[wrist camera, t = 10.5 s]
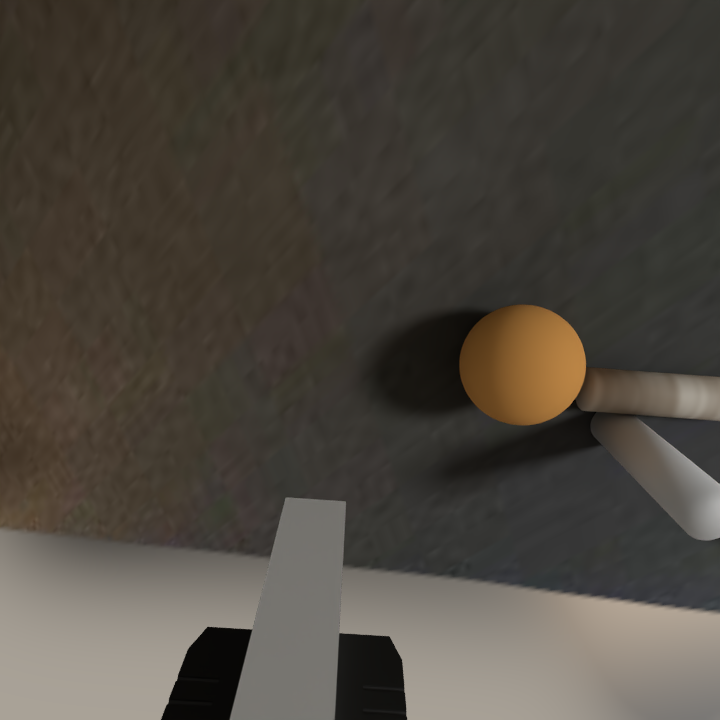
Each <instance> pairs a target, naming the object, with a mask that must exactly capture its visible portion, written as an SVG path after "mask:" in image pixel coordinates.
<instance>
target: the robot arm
mask: <svg viewBox="0 0 720 720" xmlns="http://www.w3.org/2000/svg"><path fill="white" fill-rule="evenodd" d="M345 511H346V501H331V500H316V499H301V498H286V499H285V503H284V507H283V510H282V514H281V518H280V522H279V526H278V530H277V534H276V538H275V542H274V546H273V550H272V554H271V558H270V562H269V566H268V570H267V574H266V578H265V582H264V586H263V590H262V594H261V598H260V602H259V606H258V609H257V613H256V618H255V621H254V625H253V629H252V630H250V629H233V628H217V627H207V628H206V629H205V630H204V632H203V633H202V634H201V635H200V636H199V637H198V639H197V640H196V641H195V642H194V643H193V644H192V645H191V646H190V647H189V649H188V651H187V654H186V656H185V659H184V661H183V664H182V667H181V669H180V672H179V674H178V679H177V681H176V682H175V685H174V687H173V690H172V692H171V695H170V698H169V703H168V705H167V706H166V708H165V711H164V713H163V716H162V719H161V720H407V717H406V701H405V693H404V679H403V666H402V659H401V657H400V655H399V654H398V652H397V650H396V648H395V646H394V644H393V642H392V640H391V639H390V637H389V636H373V635H357V634H342V633H339V627H340V625H339V624H340V607H341V587H342V569H343V550H344V531H345Z"/></svg>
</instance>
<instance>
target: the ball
mask: <svg viewBox="0 0 720 720" xmlns="http://www.w3.org/2000/svg"><path fill="white" fill-rule="evenodd" d="M459 369H460V376H461V380H462V383H463V386H464V388H465V391H466V393H467V394H468V396H469V397H470V399H471V400H472V402H473V403H474V404H475V405H476V406H477V407H478V408H479V409H480V410H481V411H483V412H484V413H485V414H487V415H488V416H490V417H492V418H494V419H496V420H498V421H501V422H504V423H508V424H513V425H532V424H538V423H542V422H544V421H547V420H550V419H552V418H554V417H555V416H557V415H559V414H560V413H562V412H563V411H564V410H565V409H566V408H568V407H569V406H570V404H571V403H572V402H573V401H574V400H575V398H576V397H577V395H578V393H579V392H580V389H581V387H582V385H583V382H584V378H585V372H586V358H585V353H584V349H583V345H582V343H581V341H580V339H579V337H578V335H577V333H576V332H575V331H574V329H573V328H572V327H571V326H570V325H569V324H568V322H566V321H565V320H564V319H563V318H561V317H560V316H559V315H557V314H555V313H554V312H552V311H550V310H547V309H545V308H542V307H538V306H533V305H512V306H507V307H503V308H500V309H498V310H495V311H493V312H491V313H489V314H488V315H486V316H485V317H483V318H482V319H481V320H480V321H479V322H478V323H477V324H476V325H475V326H474V327H473V328H472V329H471V331H470V332H469V334H468V335H467V337H466V339H465V341H464V343H463V346H462V349H461V353H460V361H459Z"/></svg>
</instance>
